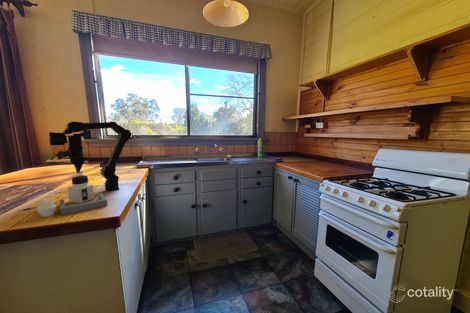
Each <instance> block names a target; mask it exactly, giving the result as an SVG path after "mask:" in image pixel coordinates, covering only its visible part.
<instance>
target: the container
mask: <svg viewBox="0 0 470 313" xmlns="http://www.w3.org/2000/svg"><path fill="white" fill-rule="evenodd" d="M94 192H95V191H94V185H93V184H90V183H89V177H88V176H87V175H86V174H85V175H74V176H72V177H71V185H70V186H68V187H67V194H68V202H72V203H76V204H83V203H86V202H88V201H91V200H94V199H95V196H94V195H95V193H94Z"/></svg>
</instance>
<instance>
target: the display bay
mask: <svg viewBox="0 0 470 313" xmlns="http://www.w3.org/2000/svg"><path fill="white" fill-rule="evenodd" d="M107 206H108V200H107V198H106V197H105V195H104V194H103V193H102V192H100V193H98V200H93V201H90V202H88V201H87V202H82V203H77V204H73V205H72V204H71V205H67V206H65V199H60V200H59V207H60V208H59V209H60V210H59V211H60V216H64V215H69V214H74V213H79V212H84V211H85V212H86V211H89V210H93V209H98V208H103V207H107Z"/></svg>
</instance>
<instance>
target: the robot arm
mask: <svg viewBox="0 0 470 313" xmlns="http://www.w3.org/2000/svg"><path fill="white" fill-rule="evenodd" d="M101 129H111V130H113V131H114V133H116V134H117V136H116V144H114V145H115V146H114V148H113V150H112V153H111V155H110V157H109V159H108V161H107V163H106V164H102V166H101V168H100V170H99V171H100V175H101V177H103V178H104V179H105V182H104V190H105V191H107V192H111V191H116V190H117V191H119V190H120V188H119V178H120V176H118V175H117V174H116V169H117V168H116V166H117V163H118V161H119V159H120V156H121V154H122V153H123V152H122V151H123V149H124V147H125V145H126V143H127V142H128V141H129V140H130V139H131V136H132V132H131V130H129V129H127V128H125V127H123V126H121V125H120V124H119V123H117V122H115V121H108V122H107V121H105V122H103V121H102V122H81V121H69V122H67V124H66V128H65V129H64V130H63V131H62V132H51V131H50V132H49V133H48V143H49V146H51V147H52V146H55V147H56V146H65V145H66V144H68V147H67V149H65V150H60V151H57V152H56V153H55V154H54V155H55V157H56V158H57V159H58V160H62V159H64V158H68V159H69V163H71V164H73V165H74V169H75V172H76V174H80V173H81V170H82V168H83V165H84V163H85V162H86V159H87V158H86V157H85V156H84V155H85V154H84V148H83V147H84V146H83V140H82V139H83V138H82V137H87V135H86V134H84V131H90V130H101Z"/></svg>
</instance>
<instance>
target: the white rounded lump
mask: <svg viewBox="0 0 470 313" xmlns="http://www.w3.org/2000/svg"><path fill="white" fill-rule="evenodd" d="M56 208H57V205H56V204H55V203H54V202H53V201H52V200H50V199H45V200H42V201H41V202H40V204H39V205H38V206H37V207H36V212H37V214H39V215H40V216H41V217H43V218H46V217H47V218H48V217H51V216H53V214H54V213H55V211H56Z"/></svg>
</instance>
